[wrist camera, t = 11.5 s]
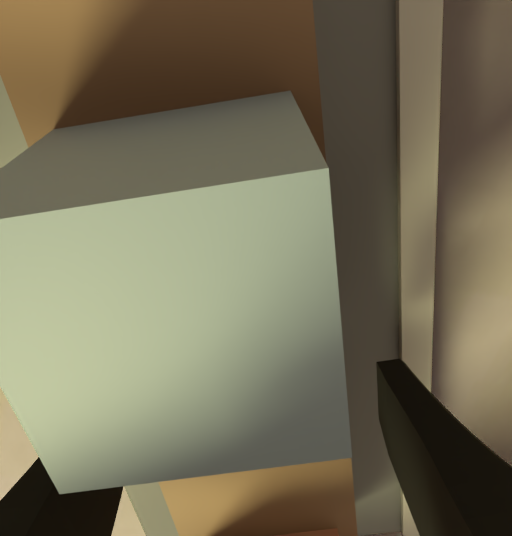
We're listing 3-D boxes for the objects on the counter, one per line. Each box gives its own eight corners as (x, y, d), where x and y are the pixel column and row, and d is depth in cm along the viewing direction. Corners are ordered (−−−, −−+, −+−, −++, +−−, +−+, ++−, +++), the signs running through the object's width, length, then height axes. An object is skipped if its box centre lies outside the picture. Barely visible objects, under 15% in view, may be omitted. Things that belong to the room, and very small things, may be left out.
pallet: (342, 510, 21) (365, 631, 17) (225, 524, 21) (222, 646, 17) (283, -44, 11) (306, -62, 7) (65, -5, 11) (-30, -2, 7)
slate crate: (313, 294, 10) (352, 457, 6) (121, 322, 10) (59, 494, 7) (290, 90, 8) (328, 168, 5) (53, 129, 8) (-86, 231, 5)
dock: (407, 479, 24) (426, 535, 21) (164, 509, 24) (155, 566, 22) (407, -160, 12) (449, -198, 9) (-65, -70, 13) (-139, -85, 10)
